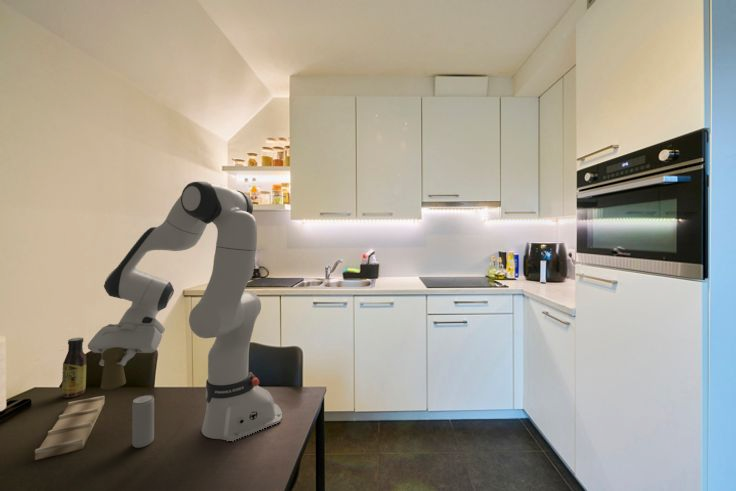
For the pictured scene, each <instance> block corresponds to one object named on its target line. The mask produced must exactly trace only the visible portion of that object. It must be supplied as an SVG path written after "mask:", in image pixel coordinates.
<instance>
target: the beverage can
mask: <svg viewBox="0 0 736 491" xmlns="http://www.w3.org/2000/svg"><path fill="white" fill-rule="evenodd" d="M131 409H132V410H131V411H132V412H131V413H132V417H131V418H132V420H131V421H132V422H131V430H132V431H131V432H132V434H131V439H132V440H131V442H132V443H131V444H132V447H134V448H136V449H140V448H145V447H147V446H148V445H150V444H152V442H153V441H154V439H155V398H154V395H151V394H145V395H142V396H138V397H136V398H134V399H133V401H132V404H131Z"/></svg>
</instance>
